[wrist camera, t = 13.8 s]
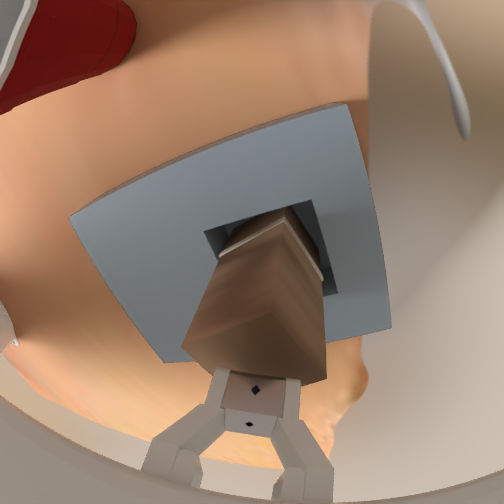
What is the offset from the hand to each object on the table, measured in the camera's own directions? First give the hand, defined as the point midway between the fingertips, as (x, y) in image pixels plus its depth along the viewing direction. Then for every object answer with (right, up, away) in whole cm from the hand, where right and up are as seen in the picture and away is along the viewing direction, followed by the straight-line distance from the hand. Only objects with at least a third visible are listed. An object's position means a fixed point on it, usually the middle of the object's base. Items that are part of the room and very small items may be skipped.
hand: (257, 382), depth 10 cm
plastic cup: (-10, +20, +4) cm, 23 cm away
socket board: (-1, +5, +11) cm, 12 cm away
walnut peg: (+1, +6, +9) cm, 11 cm away
